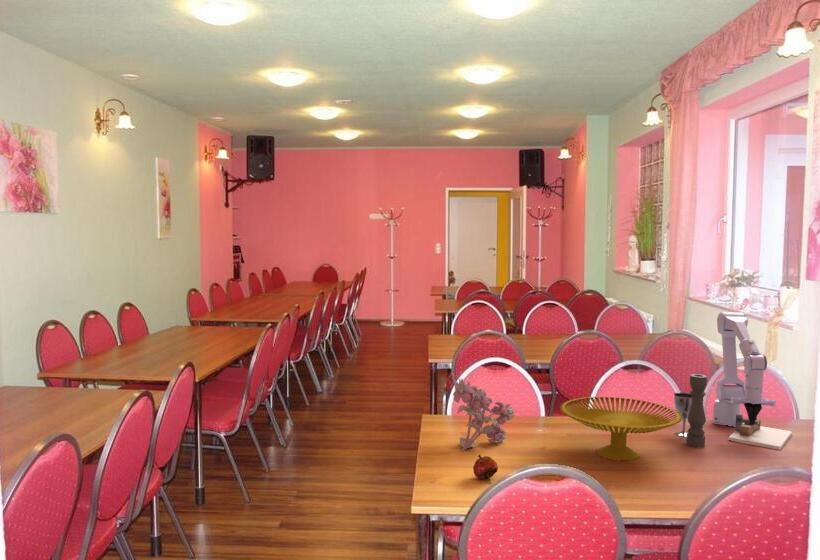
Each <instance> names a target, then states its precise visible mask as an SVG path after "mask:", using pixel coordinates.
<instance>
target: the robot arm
mask: <svg viewBox="0 0 820 560" xmlns="http://www.w3.org/2000/svg"><path fill="white" fill-rule="evenodd" d="M748 322H749V317H748V314H747V313H746V312H745V311H744V312H729V311H728V312H726V311H725V312H723V311H721V312H719V313H718V315H717V318H716V326H717V327H716V328H717V333H718V334H720V335H721V343H722V359H723V360H722V361H723V362H722V363H723V364H722V365H723V377H721V378H720V379H717V381H716V388H715V395H716V398H717V399H715V400H714V403H713V410H712V411H713V412H712V424H716V425H721V426H726V425H728V427H732V426H733V428H735V426H736V415H737V414H740V415H741V404H742V405H743V406H744V408H745V411H746V414H747V419H749V423H750V424H752V425H754V424H755V420H756V418H757V419H758V415H759V414H760V412H761V411H762V409H763V407H762V406H771V407H776V400H775V399H768V398H763V388H764V387H763V386H764V371H766V370H767V367H768V360H767V356H766V355H765V354H764V353H762V352H760V350H759V347H758V346H757V344H756V341H754V340H753V339H751V337H750V334H749V330H748V328H747V327H748V324H749V323H748ZM736 337H737V339H738V341H739V344H738V347H739V350H740V351H741V354H742V357H743V368H744V371H743V372H744V375H745V381H743V379H741V378H740V377H739V376H738V362H737V361H738V359H737V344H736V341H737V340H736Z"/></svg>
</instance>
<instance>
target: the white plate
mask: <svg viewBox="0 0 820 560" xmlns="http://www.w3.org/2000/svg"><path fill="white" fill-rule="evenodd" d="M743 424H744V423H743ZM792 435H793V431H791V430H786V429H785V430H784V429H780V428H774V427H767V426H761V425H760V429H757V430H756V431H755V432H753V433H752V434H750V435H749V436H746V435H741V434H740V432H739V431H735V430H734V432H732V434H730V435H729V436H728V441H729V440H731V441H730V442H734V441H735V443H741V444H744V445H745V444H746V445H750V444H751V445H752V446H757V447H762V448H768V449H774V450H778V451H781V449H782V448H783V447H784V446H785V444H786V443H787V442H788V440H789V439H791V437H792Z"/></svg>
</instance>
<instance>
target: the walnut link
mask: <svg viewBox="0 0 820 560" xmlns="http://www.w3.org/2000/svg"><path fill="white" fill-rule="evenodd" d="M757 420H759V424H758V425H755V424H754V425H752V424H749V423H744V424H743V425H741V426H740V434H741V435H746V436H749V435H750V434H752V433H753V432H755V431H756V430H757V429H760V426H761V421H762V420H761V419H758V418H757Z"/></svg>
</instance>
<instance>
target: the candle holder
mask: <svg viewBox="0 0 820 560" xmlns="http://www.w3.org/2000/svg"><path fill="white" fill-rule="evenodd" d="M689 385H690V388H691V391H689V393H690V394H691V396H692V404H691V407H690V411H689V414H688V418H687V420H686V421H687V422H688V424H689V428H688V429H687V432H688V434H687V437H685V438H686V439H685V440H686V446H688V445H689V447H691V446H693V447H692V448H697V447H701V448H704V447H703V446H705V444H706V443H705V442H706V436H705V434H706V433H705V431H704V429H703V428H704V425H705V424H706V420H707V418H706V413H705V408H704V407H705V406H704V397H706V395H707V394H706V392H705V390H706V388H707V386H708V376H707V375H705V374H699V373H690V375H689Z"/></svg>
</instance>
